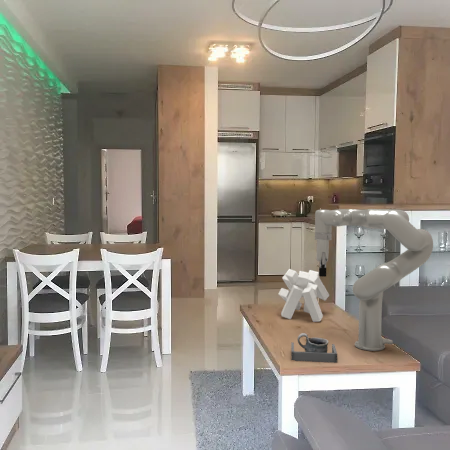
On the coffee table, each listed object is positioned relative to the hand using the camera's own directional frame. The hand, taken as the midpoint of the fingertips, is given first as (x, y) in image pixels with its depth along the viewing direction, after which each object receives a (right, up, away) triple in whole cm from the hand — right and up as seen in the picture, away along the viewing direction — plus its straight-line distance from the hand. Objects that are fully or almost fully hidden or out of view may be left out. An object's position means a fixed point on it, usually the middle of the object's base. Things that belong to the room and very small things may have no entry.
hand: (322, 276), depth 225 cm
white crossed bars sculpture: (-2, -27, +45) cm, 52 cm away
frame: (-9, -31, -24) cm, 40 cm away
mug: (-9, -31, -25) cm, 41 cm away
